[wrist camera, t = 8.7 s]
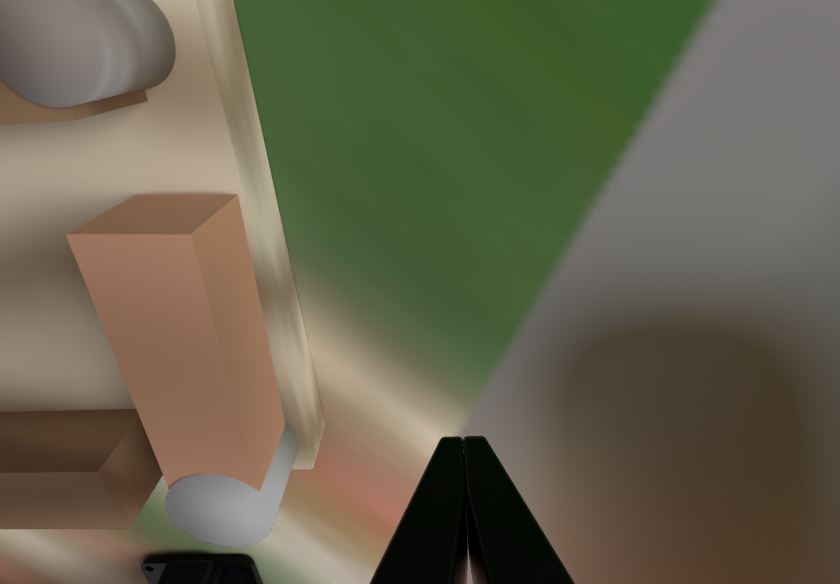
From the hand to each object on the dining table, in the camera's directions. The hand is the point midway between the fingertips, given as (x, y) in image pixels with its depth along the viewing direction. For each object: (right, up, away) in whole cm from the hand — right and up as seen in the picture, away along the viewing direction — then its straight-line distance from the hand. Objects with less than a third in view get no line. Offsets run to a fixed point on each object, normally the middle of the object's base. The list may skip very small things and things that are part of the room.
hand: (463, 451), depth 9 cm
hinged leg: (-7, +1, +8) cm, 11 cm away
